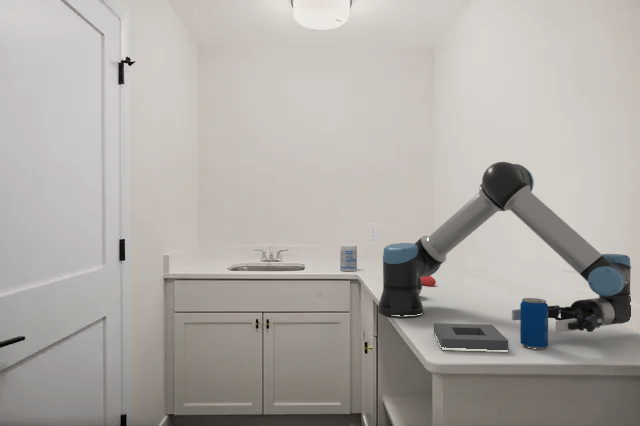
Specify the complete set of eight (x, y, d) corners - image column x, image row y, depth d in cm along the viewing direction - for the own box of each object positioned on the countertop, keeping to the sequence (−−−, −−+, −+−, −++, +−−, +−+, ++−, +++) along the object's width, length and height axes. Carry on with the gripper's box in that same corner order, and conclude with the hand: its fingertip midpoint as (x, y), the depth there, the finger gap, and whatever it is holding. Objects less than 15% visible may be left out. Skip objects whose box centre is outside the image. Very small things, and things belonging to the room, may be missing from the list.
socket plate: (433, 333, 132) (433, 323, 132) (492, 335, 130) (492, 324, 130) (441, 350, 116) (441, 338, 116) (508, 352, 114) (508, 340, 114)
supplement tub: (347, 272, 262) (347, 246, 262) (337, 270, 270) (336, 245, 270) (360, 270, 268) (360, 245, 268) (349, 269, 276) (349, 244, 276)
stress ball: (423, 289, 212) (430, 278, 211) (414, 280, 220) (421, 268, 219) (432, 292, 214) (438, 281, 213) (423, 283, 222) (429, 272, 221)
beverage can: (541, 352, 115) (541, 303, 115) (515, 346, 120) (515, 299, 120) (552, 347, 119) (552, 300, 119) (527, 341, 124) (527, 296, 124)
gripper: (637, 338, 116) (578, 348, 107) (551, 317, 139) (497, 324, 130) (637, 308, 116) (578, 316, 107) (551, 292, 139) (497, 297, 130)
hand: (533, 320), depth 119 cm, fingers open, 13 cm apart
